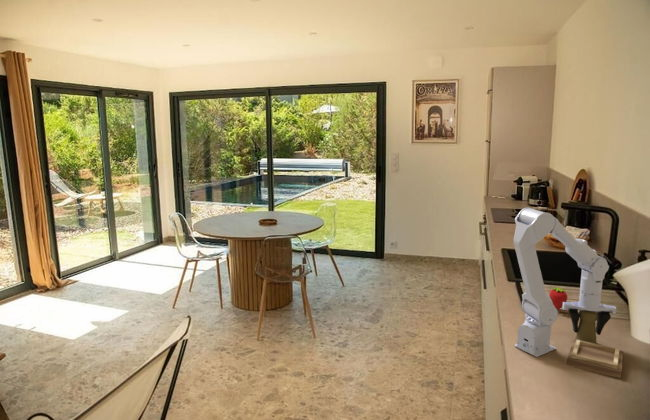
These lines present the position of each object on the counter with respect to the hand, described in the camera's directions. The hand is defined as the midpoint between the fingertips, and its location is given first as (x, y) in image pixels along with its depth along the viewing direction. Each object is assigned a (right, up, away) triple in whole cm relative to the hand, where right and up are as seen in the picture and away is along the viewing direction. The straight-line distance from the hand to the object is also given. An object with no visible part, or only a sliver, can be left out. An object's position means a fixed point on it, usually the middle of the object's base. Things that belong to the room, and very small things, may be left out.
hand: (586, 332), depth 139 cm
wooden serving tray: (-4, -6, -11) cm, 12 cm away
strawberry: (+4, +1, +26) cm, 26 cm away
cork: (0, -4, +1) cm, 4 cm away
